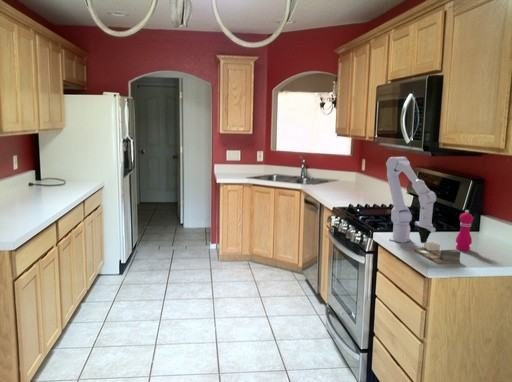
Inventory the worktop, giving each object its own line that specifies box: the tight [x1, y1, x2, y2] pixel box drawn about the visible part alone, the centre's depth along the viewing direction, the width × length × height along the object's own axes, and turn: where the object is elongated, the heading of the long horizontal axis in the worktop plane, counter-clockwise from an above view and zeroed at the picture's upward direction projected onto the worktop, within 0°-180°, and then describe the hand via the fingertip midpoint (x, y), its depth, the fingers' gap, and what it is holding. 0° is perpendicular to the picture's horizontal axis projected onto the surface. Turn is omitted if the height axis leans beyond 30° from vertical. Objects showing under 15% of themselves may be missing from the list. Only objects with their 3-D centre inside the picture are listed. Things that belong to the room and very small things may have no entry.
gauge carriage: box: [419, 241, 441, 251], centre depth 215 cm, size 4×10×3 cm, turn 102°
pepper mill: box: [455, 209, 474, 252], centre depth 220 cm, size 7×7×20 cm
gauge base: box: [411, 246, 461, 264], centre depth 209 cm, size 21×12×5 cm, turn 12°
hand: (423, 242), depth 222 cm, fingers closed
